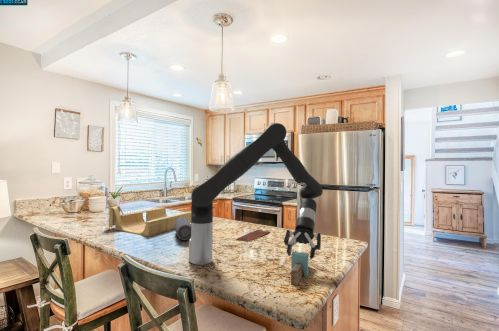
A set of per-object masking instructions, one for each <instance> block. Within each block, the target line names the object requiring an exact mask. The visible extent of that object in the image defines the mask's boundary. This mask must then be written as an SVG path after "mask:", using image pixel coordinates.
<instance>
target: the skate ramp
mask: <svg viewBox="0 0 499 331" xmlns="http://www.w3.org/2000/svg"><path fill="white" fill-rule="evenodd" d="M108 208H109V209H108V210H109V211H108V213H109V214H108V230H110V229H111V228H113V226H114V229H115V231H121V232H126V233H129V234H134V235H140V236H144V237H145V236H146V237H150V236H154V235H157V234H161V233H164V232H168V231H171V229H172V230H175V229H174V228H175V221H176V220H177V219H178V218H180V217H184V218H186V219H188V221H189V222H190V223H191V209H189V211H188V210H184V211H185V212H182V213H181V212H179V213H178V212H176V214H167V212H166V204H164V206H161V207H158V208H157V207H155V206H152V208H151V207H149V206H148V207H146V209H144V210H140V209H139V208H138V209H137V210H136V211H133V212H132V209H131V210H129V211H130V212H128V211H122V209H121V205H112V204H109V207H108ZM144 213H145V219H144V215H143V214H144Z"/></svg>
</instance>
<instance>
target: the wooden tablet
mask: <svg viewBox="0 0 499 331" xmlns="http://www.w3.org/2000/svg"><path fill="white" fill-rule="evenodd" d="M270 233H271V231H270V230H269V231H268V230H263V229H255V230H253V231H250V232H249V233H246V234H244V235H242V236H239V237H238V238H236V239H235V240H236V241H238V242H244V243H248V242H252V241H255V240H256V239H259V238H260V237H263V236H265V235H269V234H270Z"/></svg>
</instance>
